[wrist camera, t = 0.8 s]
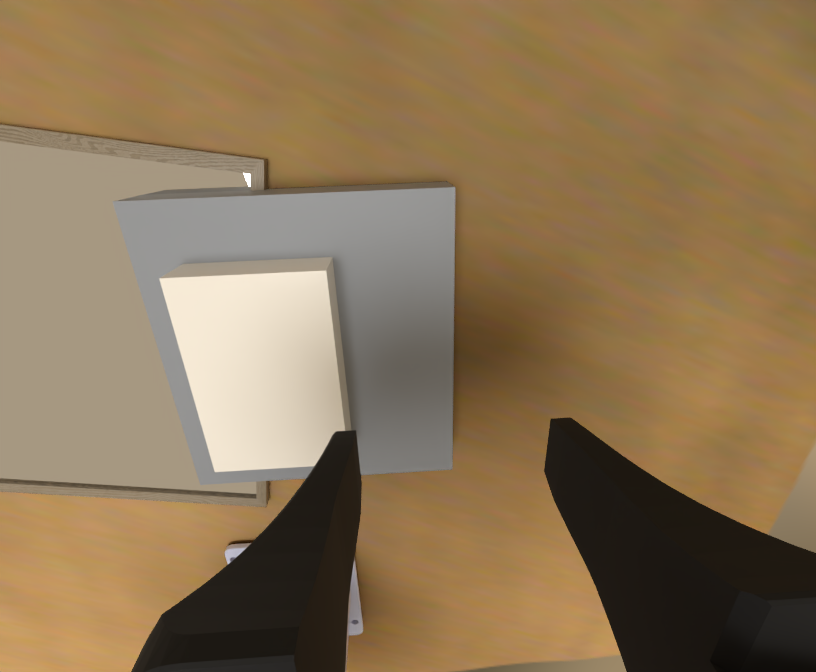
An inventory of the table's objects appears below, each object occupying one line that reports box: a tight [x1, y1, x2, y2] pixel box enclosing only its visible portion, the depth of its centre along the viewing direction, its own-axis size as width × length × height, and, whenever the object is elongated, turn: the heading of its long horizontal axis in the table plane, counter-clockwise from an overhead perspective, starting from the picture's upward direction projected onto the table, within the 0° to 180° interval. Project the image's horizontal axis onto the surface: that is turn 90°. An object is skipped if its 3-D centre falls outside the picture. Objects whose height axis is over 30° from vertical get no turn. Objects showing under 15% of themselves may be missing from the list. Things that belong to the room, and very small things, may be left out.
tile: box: [159, 257, 351, 472], centre depth 18 cm, size 9×6×2 cm, turn 2°
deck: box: [112, 181, 455, 485], centre depth 20 cm, size 14×13×2 cm
